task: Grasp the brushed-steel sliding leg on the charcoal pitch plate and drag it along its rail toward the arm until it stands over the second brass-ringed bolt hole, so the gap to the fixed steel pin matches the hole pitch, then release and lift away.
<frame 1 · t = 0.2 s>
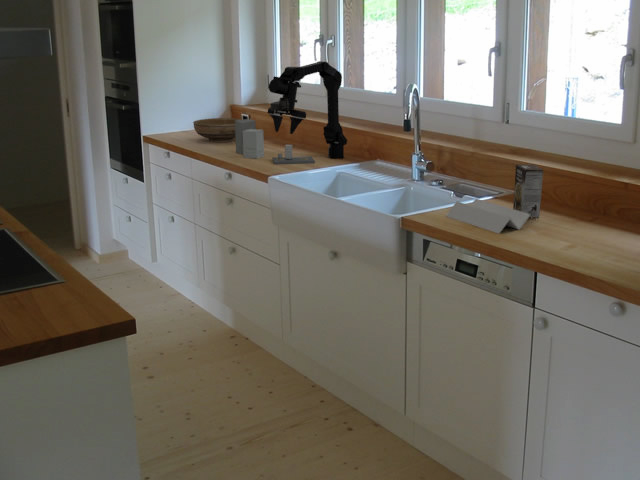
hand: (283, 132, 338), 15 cm above the worktop, tool pointing down, fingers open, 9 cm apart
coffee box: (525, 215, 261), on the worktop
pitch plate: (293, 161, 356), on the worktop
skincare box: (246, 153, 378), on the worktop
wooden bowl: (221, 140, 416), on the worktop
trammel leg: (288, 151, 355), point 4 cm above the worktop, slide at 7.0 cm
supplement box: (253, 157, 367), on the worktop
z bracket: (486, 223, 252), on the worktop
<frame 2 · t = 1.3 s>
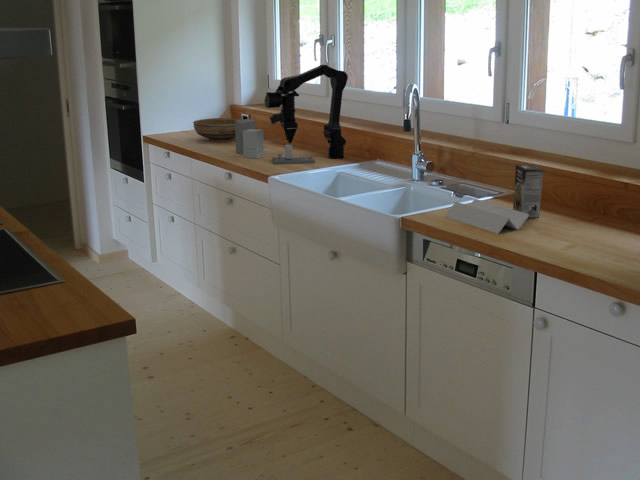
hand: (288, 141, 353), 9 cm above the worktop, tool pointing down, fingers open, 9 cm apart
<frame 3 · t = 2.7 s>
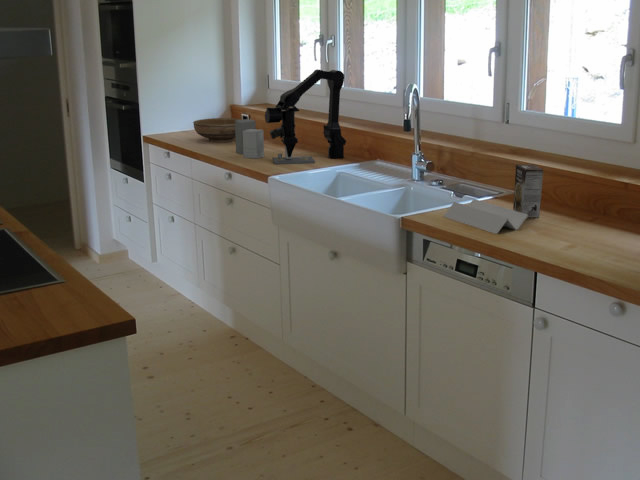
hand: (288, 156, 355), 2 cm above the worktop, tool pointing down, fingers closed on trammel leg, 3 cm apart
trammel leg: (288, 151, 355), point 4 cm above the worktop, slide at 7.0 cm, touching gripper
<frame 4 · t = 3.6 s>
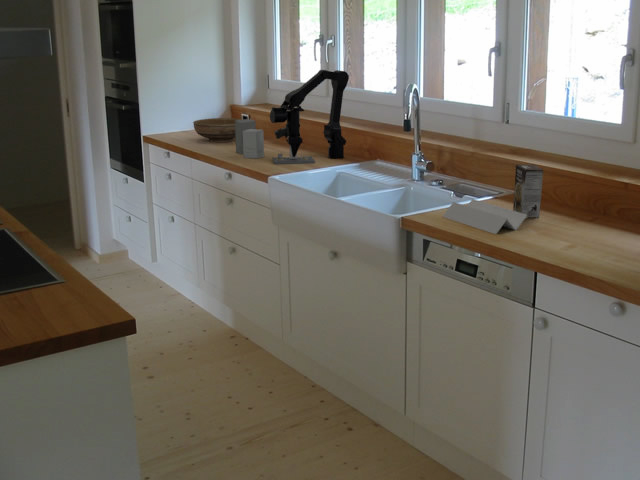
hand: (293, 156, 355), 2 cm above the worktop, tool pointing down, fingers closed on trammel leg, 3 cm apart
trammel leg: (293, 151, 355), point 4 cm above the worktop, slide at 4.9 cm, touching gripper
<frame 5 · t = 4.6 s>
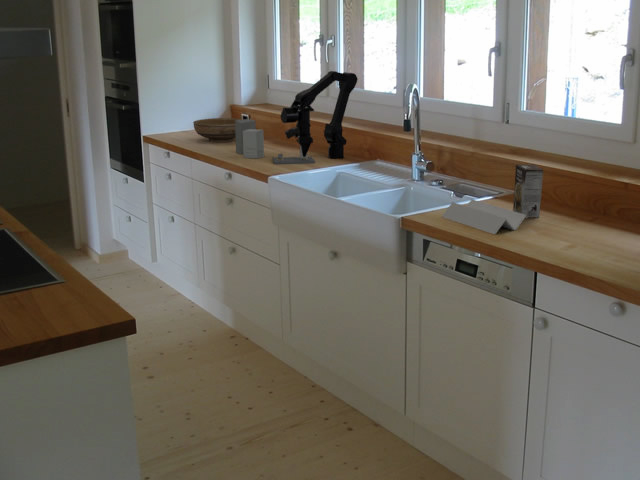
hand: (303, 156, 356), 2 cm above the worktop, tool pointing down, fingers closed on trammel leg, 3 cm apart
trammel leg: (303, 151, 355), point 4 cm above the worktop, slide at 0.2 cm, touching gripper
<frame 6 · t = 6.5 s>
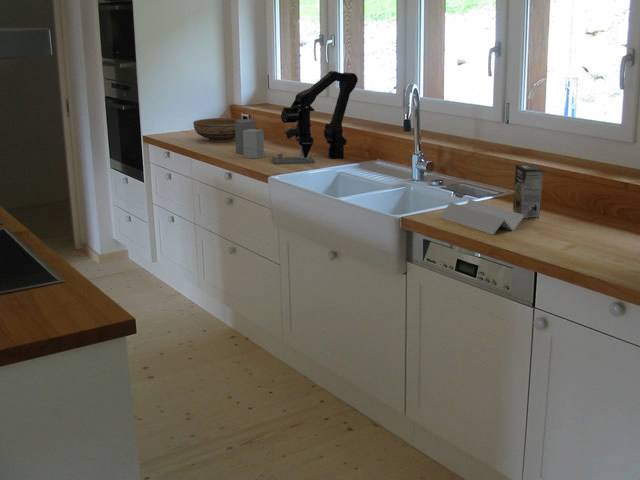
hand: (304, 156, 356), 2 cm above the worktop, tool pointing down, fingers open, 9 cm apart
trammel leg: (304, 151, 355), point 4 cm above the worktop, slide at 0.0 cm
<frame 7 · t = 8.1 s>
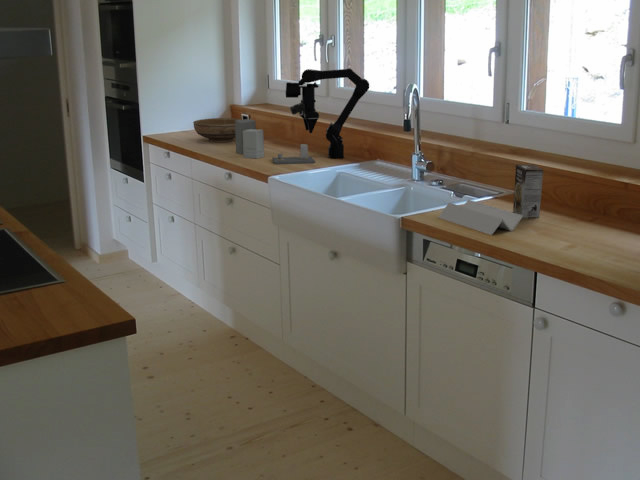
hand: (308, 131, 363), 12 cm above the worktop, tool pointing down, fingers open, 9 cm apart
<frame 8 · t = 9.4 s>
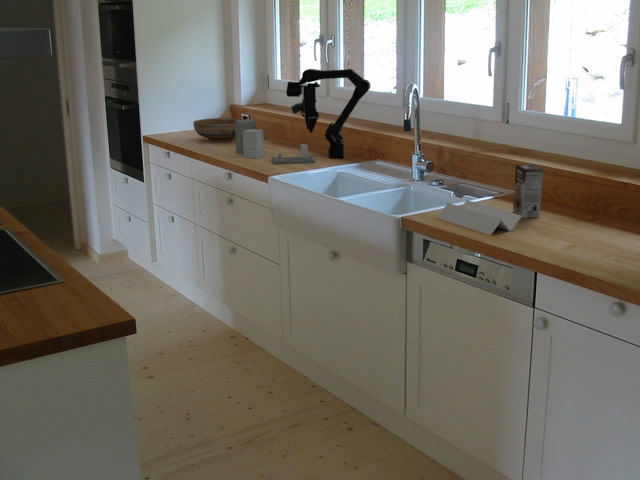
hand: (309, 131, 364), 12 cm above the worktop, tool pointing down, fingers open, 9 cm apart
at the end: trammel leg slide at 0.0 cm; the gripper is holding nothing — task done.
